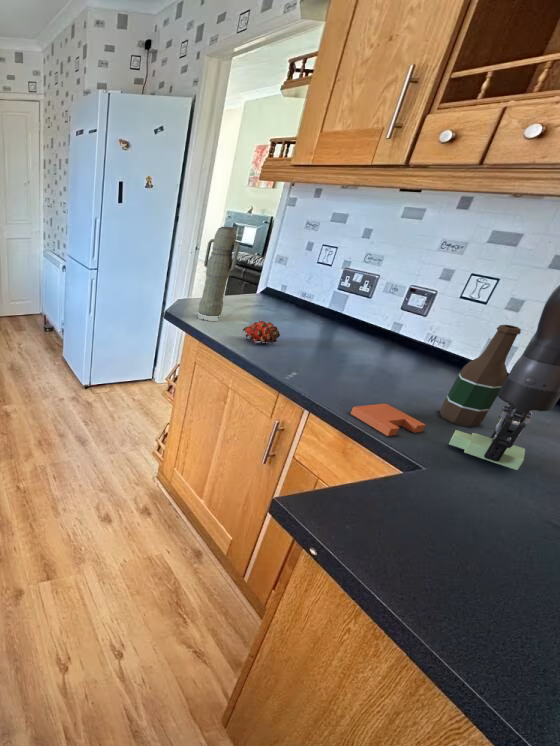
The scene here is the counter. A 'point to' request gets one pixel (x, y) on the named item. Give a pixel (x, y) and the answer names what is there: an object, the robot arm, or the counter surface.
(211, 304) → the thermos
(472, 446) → the sage pad
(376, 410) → the orange pad
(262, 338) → the dragon fruit
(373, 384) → the counter surface
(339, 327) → the counter surface
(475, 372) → the beer bottle
